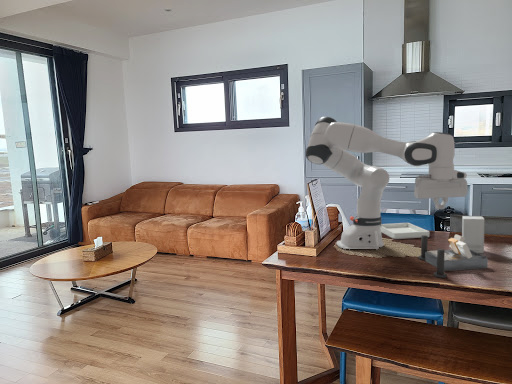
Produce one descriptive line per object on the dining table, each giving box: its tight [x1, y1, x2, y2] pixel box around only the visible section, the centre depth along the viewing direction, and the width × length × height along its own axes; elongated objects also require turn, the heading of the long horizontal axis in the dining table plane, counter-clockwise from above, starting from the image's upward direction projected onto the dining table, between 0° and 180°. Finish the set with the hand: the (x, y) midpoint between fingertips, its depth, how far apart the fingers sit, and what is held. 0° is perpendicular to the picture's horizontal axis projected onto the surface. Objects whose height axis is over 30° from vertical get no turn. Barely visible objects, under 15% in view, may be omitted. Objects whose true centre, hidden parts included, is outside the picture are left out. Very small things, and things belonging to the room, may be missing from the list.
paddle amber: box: [447, 237, 461, 255], centre depth 147 cm, size 2×4×6 cm, turn 5°
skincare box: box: [461, 215, 485, 254], centre depth 164 cm, size 8×7×16 cm
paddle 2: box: [456, 241, 472, 259], centre depth 142 cm, size 2×4×6 cm, turn 5°
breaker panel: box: [424, 249, 489, 272], centre depth 148 cm, size 18×13×5 cm
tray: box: [381, 222, 430, 240], centre depth 201 cm, size 19×22×3 cm
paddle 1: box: [448, 234, 465, 249], centre depth 153 cm, size 2×4×6 cm, turn 5°
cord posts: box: [417, 235, 448, 279], centre depth 146 cm, size 4×25×10 cm, turn 171°
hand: (440, 209), depth 145 cm, fingers closed
